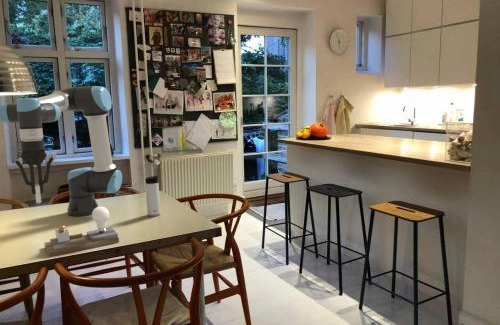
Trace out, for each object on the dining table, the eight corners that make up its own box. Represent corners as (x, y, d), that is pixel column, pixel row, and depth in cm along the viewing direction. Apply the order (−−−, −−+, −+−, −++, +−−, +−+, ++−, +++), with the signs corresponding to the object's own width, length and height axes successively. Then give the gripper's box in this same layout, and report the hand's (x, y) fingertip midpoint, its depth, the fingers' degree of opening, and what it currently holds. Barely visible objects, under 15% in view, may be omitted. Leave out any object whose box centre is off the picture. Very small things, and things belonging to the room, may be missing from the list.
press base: (44, 247, 164) (44, 239, 164) (110, 234, 178) (110, 226, 178) (49, 256, 154) (48, 248, 154) (118, 242, 168) (118, 234, 168)
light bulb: (113, 232, 171) (111, 206, 169) (98, 236, 166) (96, 209, 164) (105, 228, 175) (103, 203, 173) (90, 232, 170) (88, 207, 168)
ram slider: (56, 242, 163) (54, 225, 162) (67, 239, 166) (65, 223, 164) (59, 246, 158) (57, 229, 157) (70, 244, 161) (68, 227, 160)
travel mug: (157, 217, 203) (155, 177, 199) (145, 216, 204) (142, 177, 201) (162, 213, 209) (160, 174, 206) (150, 213, 210) (148, 174, 207)
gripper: (12, 142, 145) (20, 207, 149) (53, 139, 152) (59, 201, 156) (11, 140, 151) (18, 202, 155) (50, 138, 158) (55, 197, 162)
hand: (38, 202), depth 155 cm, fingers closed
